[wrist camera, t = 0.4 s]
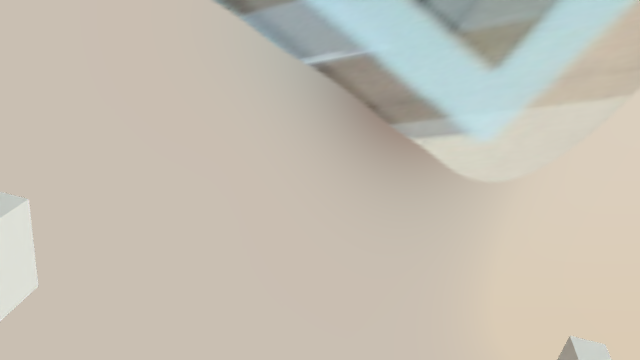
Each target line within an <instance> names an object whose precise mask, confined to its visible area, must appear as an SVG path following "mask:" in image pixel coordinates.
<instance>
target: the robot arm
mask: <svg viewBox="0 0 640 360" xmlns="http://www.w3.org/2000/svg"><path fill="white" fill-rule="evenodd" d="M37 287H38V277H37V268H36V259H35V251H34V242H33V234H32V224H31V215H30V206H29V199H27V198H23V197H20V196H16V195H12V194H7V193H4V192H0V321H1V320H2V319H3V318H4V317H5V316H6V315H8V314H9V313H10V312H11V311H12V310H13V309H14V308H15V307H16V306H17V305H18V304H20V303H21V302H22V301H23V300H24V299H25V298H26V297H27V296H28V295H29V294H31V293H32V292H33V291H34V290H35V289H36V288H37ZM558 360H612V359H611V357H610V355H609V352H608V350H607V348H606V345H605V344H601V343H597V342H593V341H589V340H585V339H581V338H577V337H573V336H570V337H569V339H568V340H567V342H566V344H565V346H564V348H563V350H562V352H561V354H560V356H559V358H558Z"/></svg>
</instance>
